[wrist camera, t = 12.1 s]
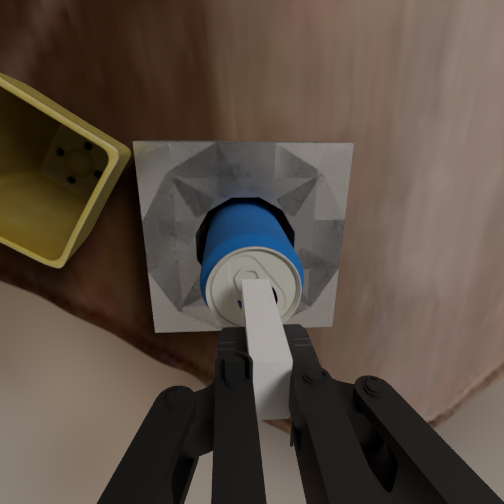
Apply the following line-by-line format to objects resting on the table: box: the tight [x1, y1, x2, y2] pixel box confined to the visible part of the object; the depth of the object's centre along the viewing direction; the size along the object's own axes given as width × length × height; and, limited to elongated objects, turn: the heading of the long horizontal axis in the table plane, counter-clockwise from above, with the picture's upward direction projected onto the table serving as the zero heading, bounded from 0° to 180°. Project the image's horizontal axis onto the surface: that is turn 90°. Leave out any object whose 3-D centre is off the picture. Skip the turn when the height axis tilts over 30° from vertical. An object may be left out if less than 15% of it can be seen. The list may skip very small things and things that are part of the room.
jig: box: [133, 140, 354, 333], centre depth 28 cm, size 16×16×4 cm
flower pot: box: [0, 73, 131, 268], centre depth 22 cm, size 9×9×9 cm
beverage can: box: [200, 199, 304, 327], centre depth 24 cm, size 6×6×12 cm
